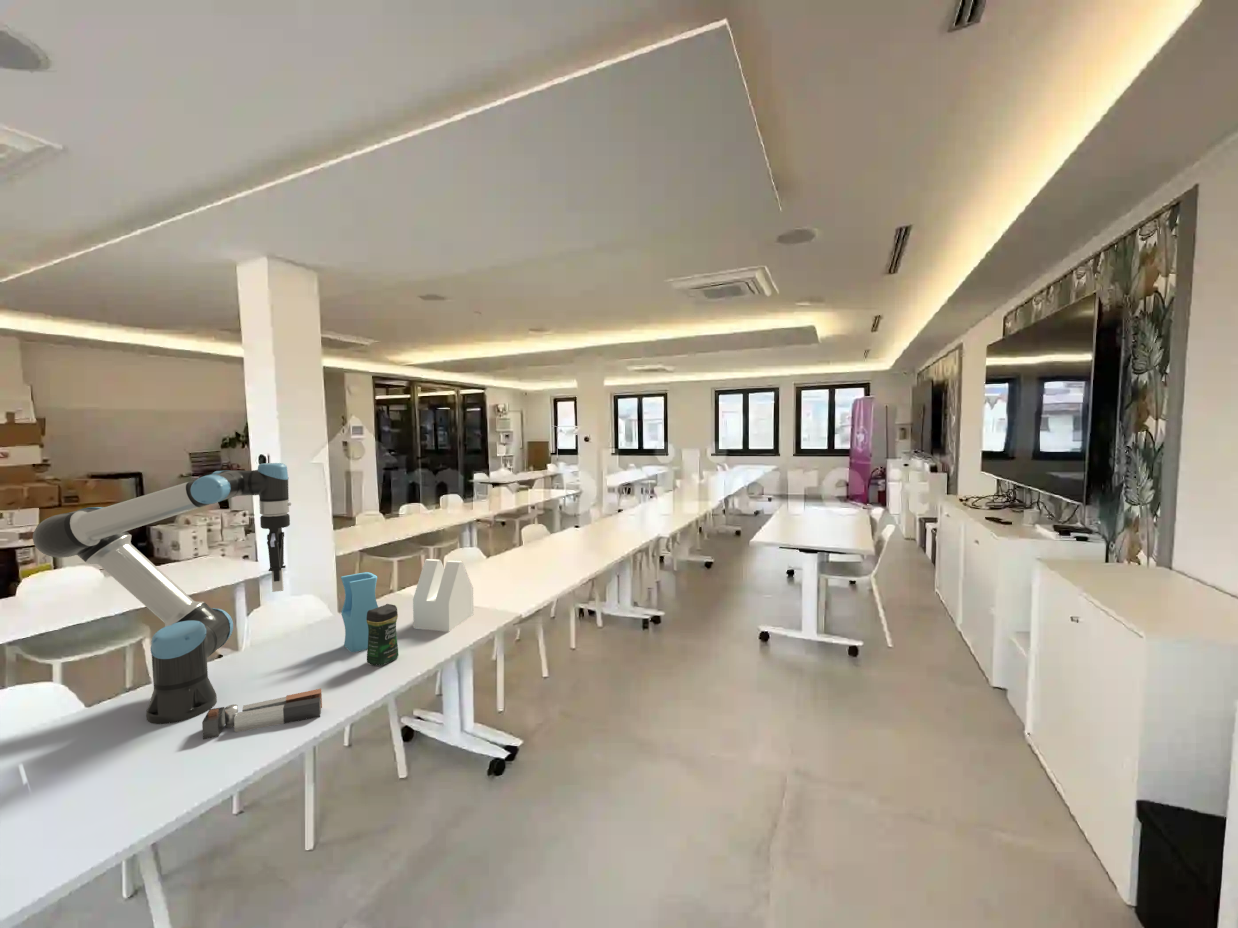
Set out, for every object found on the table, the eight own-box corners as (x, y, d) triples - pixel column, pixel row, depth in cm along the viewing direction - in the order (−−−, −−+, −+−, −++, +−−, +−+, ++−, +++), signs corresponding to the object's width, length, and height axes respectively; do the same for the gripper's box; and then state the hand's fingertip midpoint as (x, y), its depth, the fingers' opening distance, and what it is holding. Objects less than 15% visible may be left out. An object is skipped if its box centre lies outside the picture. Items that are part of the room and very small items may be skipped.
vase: (342, 644, 195) (340, 576, 194) (370, 637, 202) (368, 571, 200) (352, 653, 188) (349, 582, 187) (380, 645, 195) (379, 576, 193)
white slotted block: (449, 632, 208) (448, 568, 206) (413, 628, 212) (412, 565, 210) (473, 614, 227) (472, 556, 225) (440, 611, 230) (439, 553, 229)
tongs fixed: (203, 739, 136) (202, 718, 135) (210, 726, 142) (209, 705, 141) (319, 717, 146) (319, 698, 146) (322, 706, 152) (321, 687, 152)
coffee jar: (380, 668, 177) (378, 612, 175) (362, 664, 180) (361, 609, 178) (403, 656, 185) (402, 603, 184) (386, 652, 189) (384, 600, 187)
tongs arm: (224, 728, 140) (223, 710, 140) (226, 723, 143) (225, 705, 143) (321, 707, 151) (321, 690, 151) (321, 702, 154) (321, 686, 154)
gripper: (285, 516, 160) (288, 595, 161) (292, 510, 172) (295, 583, 173) (255, 518, 157) (259, 598, 158) (264, 511, 169) (267, 586, 170)
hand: (278, 590), depth 166 cm, fingers closed
